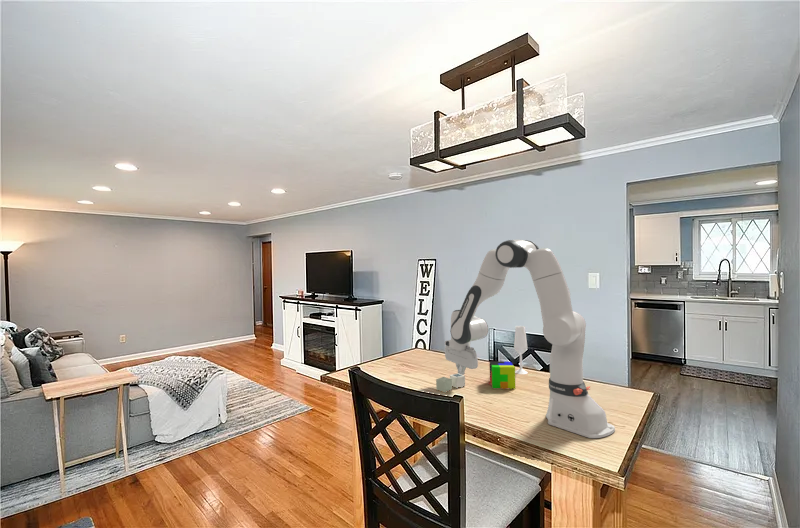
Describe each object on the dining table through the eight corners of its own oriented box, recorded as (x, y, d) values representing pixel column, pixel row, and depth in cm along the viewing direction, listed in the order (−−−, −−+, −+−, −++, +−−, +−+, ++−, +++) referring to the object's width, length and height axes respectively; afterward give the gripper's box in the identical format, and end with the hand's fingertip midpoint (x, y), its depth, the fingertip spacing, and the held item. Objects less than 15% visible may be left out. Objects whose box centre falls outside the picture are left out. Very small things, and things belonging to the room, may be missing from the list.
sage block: (451, 390, 167) (451, 379, 167) (444, 392, 164) (444, 381, 164) (443, 387, 171) (443, 376, 171) (436, 390, 167) (436, 379, 167)
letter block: (458, 372, 175) (458, 383, 175) (449, 374, 173) (450, 385, 173) (464, 375, 171) (465, 386, 171) (456, 377, 168) (456, 388, 168)
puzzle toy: (510, 382, 177) (510, 361, 177) (515, 389, 167) (515, 367, 167) (489, 381, 178) (489, 361, 178) (493, 388, 168) (492, 367, 168)
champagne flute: (529, 371, 193) (528, 326, 193) (525, 374, 187) (525, 328, 187) (516, 369, 197) (515, 325, 197) (512, 373, 191) (511, 327, 191)
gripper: (481, 347, 161) (481, 378, 161) (453, 339, 179) (453, 367, 179) (469, 349, 158) (470, 381, 158) (442, 341, 176) (442, 369, 176)
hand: (461, 374), depth 169 cm, fingers closed
